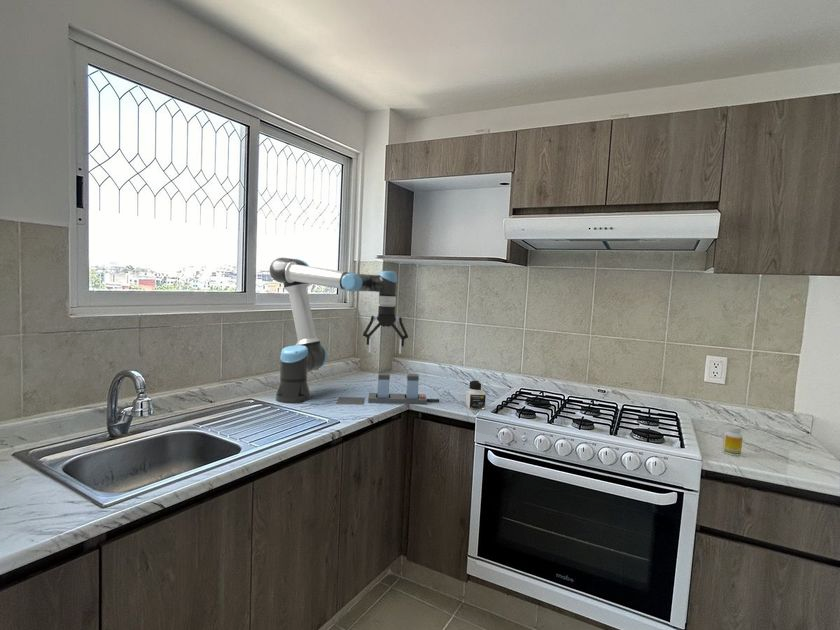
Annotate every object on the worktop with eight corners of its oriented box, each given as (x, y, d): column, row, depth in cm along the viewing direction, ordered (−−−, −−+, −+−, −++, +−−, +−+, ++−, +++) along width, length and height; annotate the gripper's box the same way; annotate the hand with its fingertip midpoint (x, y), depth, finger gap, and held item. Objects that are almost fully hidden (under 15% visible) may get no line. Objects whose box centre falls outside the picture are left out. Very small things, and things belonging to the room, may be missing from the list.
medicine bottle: (469, 409, 198) (471, 383, 197) (465, 405, 205) (466, 379, 204) (485, 409, 199) (486, 383, 198) (480, 405, 206) (481, 379, 205)
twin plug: (406, 402, 201) (407, 376, 200) (405, 399, 206) (407, 373, 205) (417, 402, 201) (418, 376, 200) (416, 399, 206) (418, 374, 205)
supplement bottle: (719, 449, 161) (721, 423, 160) (735, 451, 160) (738, 425, 159) (727, 455, 156) (729, 428, 155) (744, 457, 155) (746, 429, 154)
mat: (335, 404, 195) (335, 403, 195) (338, 397, 207) (338, 396, 207) (363, 405, 196) (363, 404, 196) (364, 398, 208) (364, 397, 208)
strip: (368, 405, 197) (368, 397, 197) (369, 399, 207) (369, 391, 207) (440, 407, 200) (440, 399, 199) (437, 401, 209) (438, 393, 209)
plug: (377, 401, 200) (378, 375, 199) (377, 398, 205) (378, 372, 204) (388, 401, 200) (389, 375, 199) (388, 399, 205) (389, 373, 204)
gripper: (358, 304, 195) (356, 353, 197) (415, 307, 197) (412, 355, 198) (359, 304, 203) (357, 350, 204) (414, 306, 204) (412, 352, 206)
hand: (384, 352), depth 201 cm, fingers open, 13 cm apart
